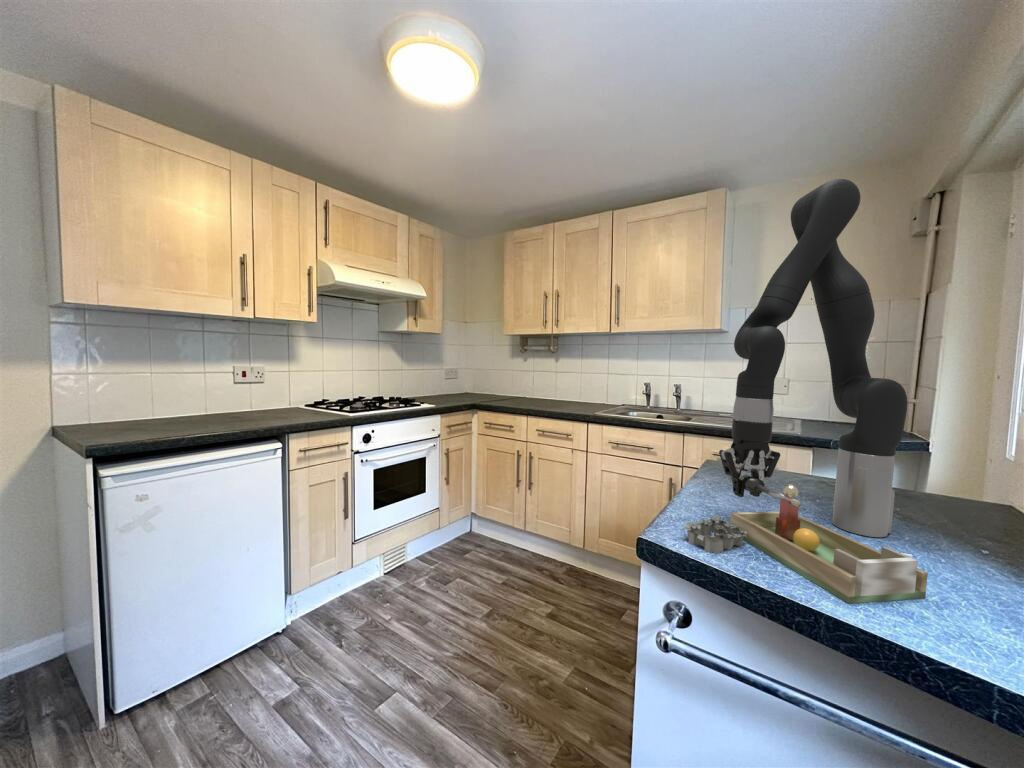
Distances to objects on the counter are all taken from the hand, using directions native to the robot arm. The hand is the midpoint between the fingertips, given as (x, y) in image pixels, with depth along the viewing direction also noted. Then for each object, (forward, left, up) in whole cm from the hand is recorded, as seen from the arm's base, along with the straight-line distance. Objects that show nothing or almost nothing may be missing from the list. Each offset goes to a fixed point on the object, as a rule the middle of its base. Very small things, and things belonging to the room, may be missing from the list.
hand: (746, 495), depth 88 cm
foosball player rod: (0, +5, -5) cm, 7 cm away
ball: (0, +15, -3) cm, 15 cm away
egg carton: (+14, +8, -7) cm, 17 cm away
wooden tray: (0, +17, -6) cm, 18 cm away
